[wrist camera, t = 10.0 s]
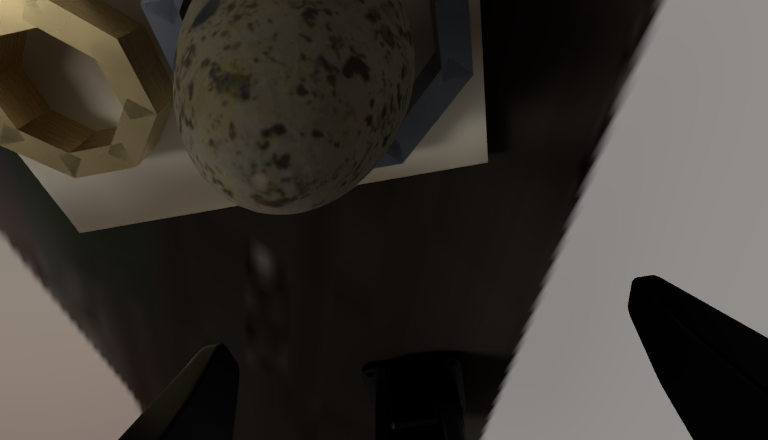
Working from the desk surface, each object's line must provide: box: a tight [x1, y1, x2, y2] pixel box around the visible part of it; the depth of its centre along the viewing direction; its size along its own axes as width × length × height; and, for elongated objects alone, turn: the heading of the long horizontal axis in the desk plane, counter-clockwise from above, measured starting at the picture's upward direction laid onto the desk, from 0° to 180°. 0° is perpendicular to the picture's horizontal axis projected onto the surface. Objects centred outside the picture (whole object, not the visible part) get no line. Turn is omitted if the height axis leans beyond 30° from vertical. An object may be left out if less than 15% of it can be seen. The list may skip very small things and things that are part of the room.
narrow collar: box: [0, 0, 174, 178], centre depth 15 cm, size 6×6×2 cm
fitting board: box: [18, 0, 488, 233], centre depth 16 cm, size 13×19×1 cm
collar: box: [140, 0, 474, 169], centre depth 14 cm, size 10×10×2 cm
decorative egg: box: [173, 0, 415, 215], centre depth 11 cm, size 6×6×10 cm
